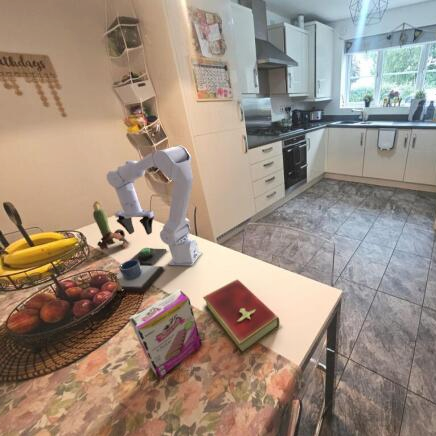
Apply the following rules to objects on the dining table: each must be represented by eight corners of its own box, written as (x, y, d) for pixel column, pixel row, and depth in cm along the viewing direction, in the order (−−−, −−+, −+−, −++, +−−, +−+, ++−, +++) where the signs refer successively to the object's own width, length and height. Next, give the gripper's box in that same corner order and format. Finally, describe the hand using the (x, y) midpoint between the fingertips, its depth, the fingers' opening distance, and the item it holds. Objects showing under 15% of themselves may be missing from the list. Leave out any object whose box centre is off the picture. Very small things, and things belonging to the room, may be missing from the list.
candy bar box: (159, 381, 54) (136, 330, 47) (150, 367, 57) (126, 317, 50) (203, 345, 62) (189, 296, 55) (193, 334, 65) (178, 287, 58)
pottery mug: (125, 252, 103) (107, 241, 98) (109, 261, 105) (91, 250, 100) (135, 232, 112) (119, 221, 107) (120, 241, 114) (104, 230, 109)
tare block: (166, 251, 102) (164, 245, 101) (152, 266, 93) (149, 260, 92) (144, 251, 103) (142, 245, 102) (128, 265, 94) (125, 259, 93)
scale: (164, 270, 91) (162, 265, 90) (143, 293, 80) (141, 287, 79) (129, 269, 92) (127, 263, 91) (104, 291, 81) (101, 286, 80)
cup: (144, 268, 88) (141, 258, 86) (140, 278, 83) (135, 268, 81) (127, 271, 87) (122, 261, 85) (121, 282, 82) (116, 271, 80)
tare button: (152, 250, 98) (150, 247, 97) (147, 255, 95) (146, 251, 95) (145, 250, 98) (143, 247, 98) (140, 254, 96) (139, 251, 95)
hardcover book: (240, 287, 81) (238, 277, 79) (279, 326, 66) (278, 315, 64) (205, 306, 74) (202, 296, 72) (241, 354, 59) (239, 343, 57)
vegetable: (103, 243, 109) (84, 202, 101) (111, 238, 113) (95, 198, 104) (110, 245, 108) (92, 203, 99) (119, 240, 112) (102, 199, 103)
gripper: (103, 205, 88) (116, 238, 94) (140, 205, 86) (151, 238, 92) (117, 198, 94) (129, 229, 100) (152, 198, 92) (162, 229, 99)
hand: (140, 233), depth 97 cm, fingers open, 7 cm apart
